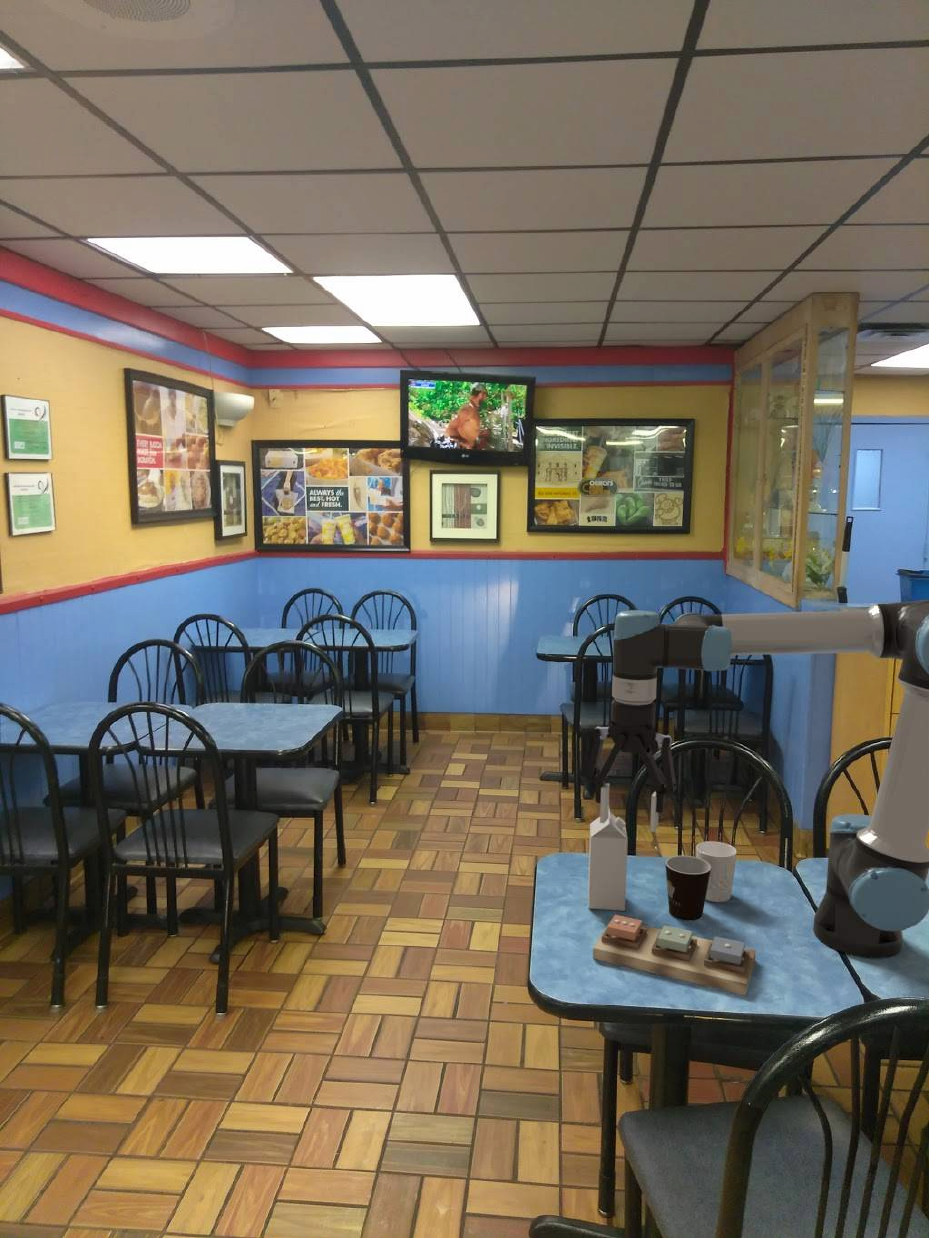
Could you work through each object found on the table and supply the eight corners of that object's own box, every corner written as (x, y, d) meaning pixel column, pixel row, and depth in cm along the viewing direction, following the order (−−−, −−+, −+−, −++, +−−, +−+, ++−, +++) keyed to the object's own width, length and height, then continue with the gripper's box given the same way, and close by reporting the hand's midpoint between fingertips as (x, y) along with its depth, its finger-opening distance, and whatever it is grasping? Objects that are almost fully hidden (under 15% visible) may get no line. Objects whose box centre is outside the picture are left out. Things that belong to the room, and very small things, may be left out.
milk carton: (588, 909, 174) (591, 817, 171) (587, 893, 181) (590, 804, 178) (625, 911, 173) (628, 819, 170) (622, 895, 180) (626, 806, 177)
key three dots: (641, 928, 160) (642, 919, 160) (634, 940, 156) (635, 931, 155) (614, 922, 162) (615, 913, 162) (607, 934, 158) (607, 925, 157)
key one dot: (744, 950, 152) (745, 941, 152) (740, 964, 148) (740, 955, 148) (714, 944, 155) (715, 935, 154) (709, 957, 150) (710, 948, 150)
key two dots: (691, 939, 156) (692, 930, 156) (686, 952, 152) (686, 943, 151) (663, 933, 158) (664, 924, 158) (657, 945, 154) (657, 936, 154)
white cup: (706, 905, 176) (708, 858, 174) (687, 888, 183) (689, 842, 182) (741, 901, 178) (744, 854, 176) (721, 884, 185) (723, 839, 184)
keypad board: (755, 960, 155) (756, 944, 155) (745, 995, 145) (746, 978, 144) (611, 928, 166) (612, 913, 166) (592, 958, 156) (593, 942, 155)
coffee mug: (709, 925, 168) (712, 876, 166) (663, 921, 169) (665, 871, 168) (705, 898, 179) (708, 851, 178) (662, 894, 181) (664, 847, 179)
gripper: (568, 697, 154) (565, 821, 157) (691, 711, 145) (684, 842, 148) (581, 689, 160) (578, 808, 164) (699, 702, 152) (693, 827, 155)
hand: (628, 824), depth 156 cm, fingers open, 8 cm apart
